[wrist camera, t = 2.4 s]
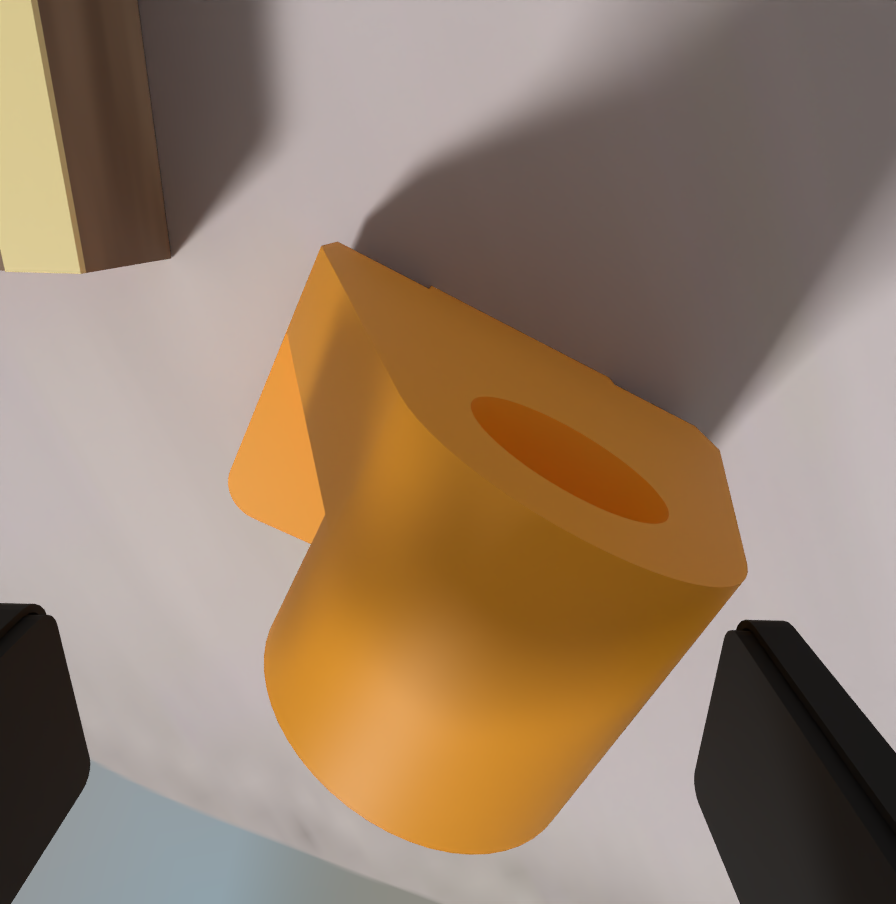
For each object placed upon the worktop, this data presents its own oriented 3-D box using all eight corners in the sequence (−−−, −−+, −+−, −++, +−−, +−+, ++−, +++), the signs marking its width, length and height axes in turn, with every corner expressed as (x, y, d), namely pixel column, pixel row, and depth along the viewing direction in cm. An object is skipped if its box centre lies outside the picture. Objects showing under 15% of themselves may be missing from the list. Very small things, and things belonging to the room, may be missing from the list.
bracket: (250, 463, 19) (-59, 820, 8) (343, 240, 17) (87, 305, 6) (558, 604, 21) (658, 1073, 9) (685, 416, 18) (1024, 750, 7)
